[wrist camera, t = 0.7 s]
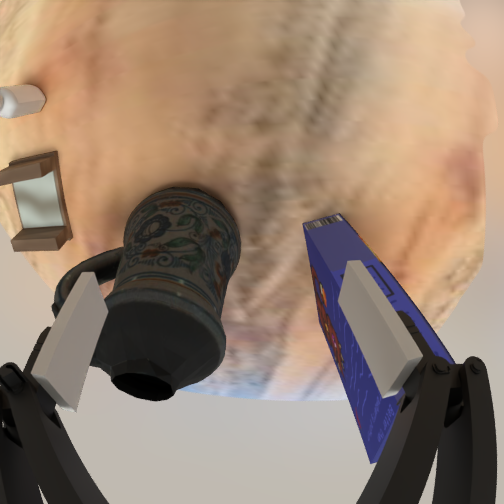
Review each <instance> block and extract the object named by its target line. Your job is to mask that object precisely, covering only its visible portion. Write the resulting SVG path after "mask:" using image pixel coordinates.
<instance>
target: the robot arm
mask: <svg viewBox="0 0 504 504" xmlns="http://www.w3.org/2000/svg"><path fill="white" fill-rule="evenodd" d="M338 303H339V305H340V307H341V309H342V311H343V313H344V315H345V317H346V319H347V321H348V323H349V325H350V327H351V329H352V332H353V334H354V336H355V338H356V340H357V342H358V344H359V346H360V349H361V351H362V353H363V355H364V357H365V360H366V362H367V364H368V366H369V368H370V371H371V373H372V375H373V377H374V380H375V382H376V384H377V387H378V389H379V391H380V394H381V396H382V398H386V397H389V396H392V395H396V394H397V393H398V392H399V391H400V389H401V388H402V387H403V389H404V391H405V393H404V394H403V396H402V397H401V398H400V399H399V401H398V402H397V404H396V405H397V406H398V405H399V404H400V406H399V409H398V412H397V414H396V417H395V420H394V423H393V425H392V428H391V431H390V433H389V436H388V438H387V441H386V443H385V446H384V448H383V450H382V453H381V455H380V457H379V460H378V462H377V464H376V466H375V468H374V470H373V472H372V475H371V477H370V479H369V481H368V483H367V485H366V486H365V489H364V490H363V492H362V494H361V496H360V498H359V499H358V501H357V503H356V504H418V503H419V500H420V498H421V496H422V493H423V490H424V488H425V485H426V482H427V480H428V476H429V474H430V471H431V468H432V464H433V461H434V458H435V455H436V451H437V448H438V455H437V468H436V478H435V487H434V494H433V501H432V504H495V498H496V485H497V444H496V429H495V419H494V410H493V403H492V397H491V390H490V384H489V379H488V374H487V369H486V366H485V364H484V362H483V361H482V360H481V359H479V358H478V357H474V356H472V357H469V358H467V359H466V361H465V362H464V363H463V364H450V363H449V362H448V361H447V360H446V359H445V358H443V357H440V356H435V354H434V353H433V351H432V350H431V348H430V347H429V345H428V343H427V342H426V340H425V339H424V337H423V335H422V334H421V333H420V332H419V329H418V328H417V326H415V323H414V322H413V320H412V319H411V317H410V316H409V315H407V314H406V313H405V312H404V311H402V310H400V311H395V310H394V308H393V307H392V305H391V304H390V302H389V301H388V299H387V298H386V296H385V295H384V293H383V292H382V290H381V289H380V287H379V286H378V284H377V283H376V282H375V280H374V279H373V277H372V276H371V274H370V273H369V272H368V270H367V269H366V267H365V266H364V265H363V263H362V262H361V260H353V261H347V265H346V269H345V274H344V278H343V282H342V286H341V291H340V295H339V298H338ZM107 314H108V309H107V307H106V304H105V301H104V299H103V296H102V293H101V291H100V288H99V285H98V282H97V279H96V276H95V273H94V272H82V273H81V275H80V277H79V278H78V280H77V282H76V283H75V285H74V287H73V289H72V290H71V292H70V294H69V296H68V297H67V299H66V301H65V303H64V305H63V306H62V308H61V310H60V312H59V314H58V316H57V318H56V320H55V322H54V324H53V326H52V327H47V328H46V329H45V330H44V331H43V332H42V333H41V334H40V336H39V338H38V340H37V344H35V346H34V348H33V351H32V353H31V355H30V357H29V359H28V361H27V364H26V366H25V368H24V370H23V372H22V371H21V370H20V369H19V367H18V366H17V365H16V364H15V363H12V362H9V363H6V364H4V365H3V366H1V368H0V385H1V386H0V504H44V503H43V500H42V497H41V493H40V490H39V486H40V489H41V491H42V493H43V495H44V497H45V499H46V501H47V502H48V504H109V503H108V502H107V500H106V499H105V497H104V496H103V495H102V493H101V492H100V490H99V489H98V487H97V486H96V484H95V483H94V481H93V479H92V478H91V476H90V474H89V473H88V471H87V469H86V468H85V466H84V464H83V463H82V461H81V459H80V457H79V456H78V454H77V452H76V450H75V448H74V446H73V444H72V442H71V440H70V438H69V436H68V434H67V432H66V430H65V428H64V426H63V423H62V421H61V419H60V417H59V415H58V413H57V411H56V409H55V406H56V403H57V404H58V405H59V406H60V407H61V408H62V409H63V410H67V411H72V412H76V410H77V407H78V403H79V399H80V395H81V392H82V388H83V385H84V381H85V378H86V375H87V371H88V368H89V365H90V362H91V359H92V356H93V353H94V350H95V347H96V344H97V341H98V338H99V335H100V333H101V330H102V327H103V324H104V322H105V319H106V317H107ZM400 402H401V403H400ZM2 422H3V423H4V427H3V423H2ZM38 485H39V486H38Z"/></svg>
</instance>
